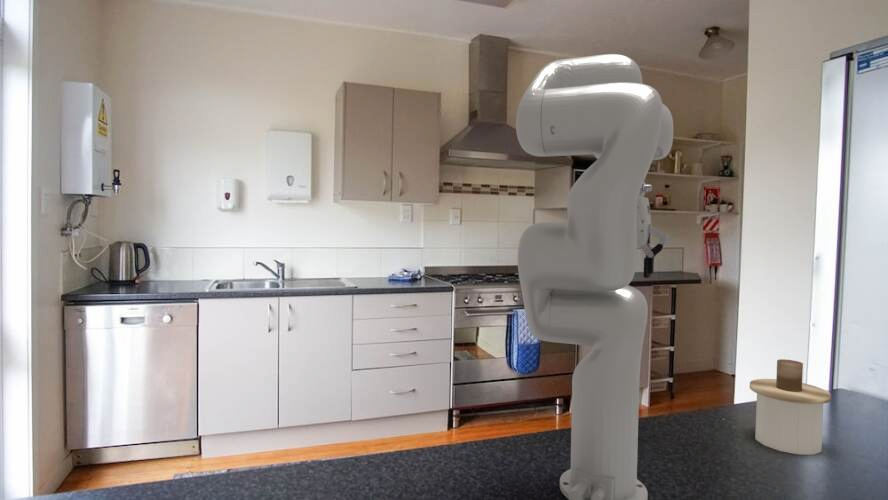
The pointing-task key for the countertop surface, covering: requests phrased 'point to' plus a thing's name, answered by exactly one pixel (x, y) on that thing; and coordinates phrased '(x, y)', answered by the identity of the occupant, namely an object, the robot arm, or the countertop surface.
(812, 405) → the pot
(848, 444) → the countertop surface
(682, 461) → the countertop surface
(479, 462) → the countertop surface
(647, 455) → the countertop surface
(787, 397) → the lid
